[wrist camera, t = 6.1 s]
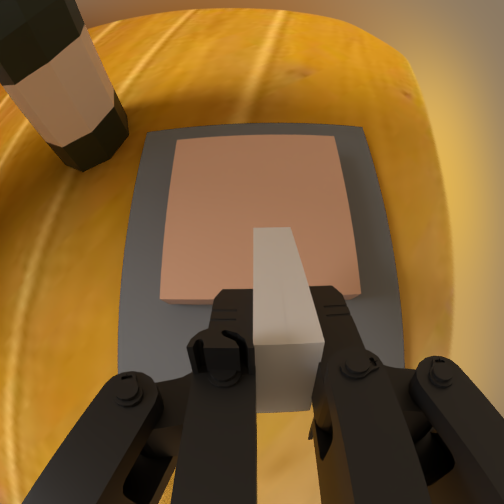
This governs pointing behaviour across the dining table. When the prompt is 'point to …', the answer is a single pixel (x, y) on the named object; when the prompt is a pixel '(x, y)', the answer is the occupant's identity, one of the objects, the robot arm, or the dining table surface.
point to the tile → (254, 213)
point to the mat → (198, 316)
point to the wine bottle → (60, 80)
